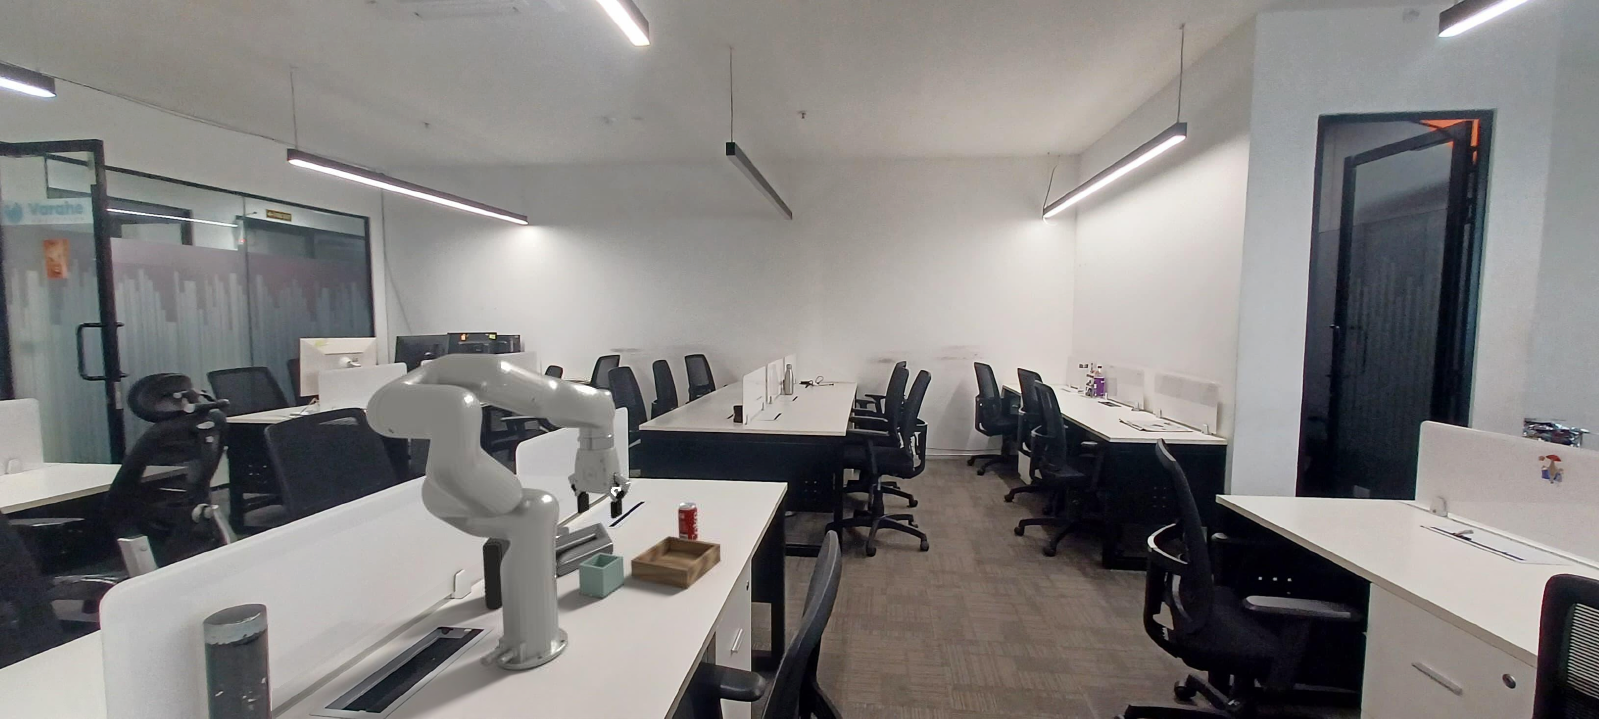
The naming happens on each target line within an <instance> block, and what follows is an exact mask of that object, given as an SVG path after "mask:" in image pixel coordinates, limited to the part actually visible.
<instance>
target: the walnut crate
mask: <svg viewBox="0 0 1599 719" xmlns="http://www.w3.org/2000/svg"><path fill="white" fill-rule="evenodd" d="M720 562H721V543H715V542H709V541H704V540H703V541H701V540H698V541H696V540H690V539H683V538H679V537H676V536H670V535H669V536H667V537H665V538H664V539H662V540H661V541H659V542H657V543H656V544H654V545H652V546H651V547H650V548H649V549H646V550H645V551H644V552H642V553H640V554H639V555H637V556H636V557H634V558H633V559H631V560H630V565H631V566H630V567H631V568H630V569H631V579H635V580H638V581H639V580H641V581H646V582H651V583H656V584H660V583H661V585H665V584H666V585H667V586H670V585H671V587H675V586H676V588H682V589H687V590H688V589H689V588H690V587H691V586H692V585H694V584H695V583H696V582H697V581H699V580H700V579H701V578H703V576H704V575H706V574H707V573H708V572H709V571H710V570H712V569H713V568H714V567H715V566H716V565H718V564H719V563H720Z"/></svg>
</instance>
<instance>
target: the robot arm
mask: <svg viewBox="0 0 1599 719" xmlns="http://www.w3.org/2000/svg"><path fill="white" fill-rule="evenodd" d="M481 403H483V404H487V405H490V406H493V407H496V408H499V409H503V410H507V411H510V412H513V413H516V414H519V415H522V416H526V417H533V418H539V419H546V420H547V421H548V422H549V423H550V424H551V425H552V426H555V427H557V428H563V429H578V431H579V432H578V434H579V436H577V442H579V448H578V447H577V449H576V450H577V451H576V455H575V460H574V473H572V474H571V475H569V476H567V480H568V482H569V484H570V488H571V490H572V491H573V492H574V495H573V496H575V497H576V502H577V505H576V506H577V513H578V514H580V515H581V514H582V513H585V512H587V511H589V510H590V494H589V493H591V494H599V495H608V496H609V497H610V499H611V501H610V503H609V504H610V505H609V506H610V518H611V519H613V520H614V519H616V518H618V517H620V516H621V515H622V514H623V499H624V498H625V496H626V495H628V492H629V489H630V487H631V482H630V481H629V480H628V479H627V478H625V477H624V476H622V475H621V469H620V468H621V467H620V466H621V465H620V460H619V455H618V451H617V448H616V447H615V434H614V433H615V432H614V419H615V417H616V406H615V405H616V404H615V402H614V400H613V394H612V392H611V391H610V390H608V389H602V388H598V389H597V388H595V387H592V386H589V385H586V384H583V383H579V382H574V381H569V380H567V379H562V378H560V377H555V376H551V375H547V374H543V373H540V372H539V371H536V370H533V369H531V368H529V367H527V366H524V365H522V364H520V363H518V362H515V361H514V360H511V359H509V358H507V357H505V356H504V357H503V356H502V355H498V354H493V353H451V354H445V355H442V356H440V357H437V358H435V359H432V360H430V361H428V362H426V363H424V364H423V365H420V366H418V367H416V368H415V369H413V370H411V371H408V372H406V373H405V374H403V375H401V376H399V377H397V378H395V379H394V380H391V381H390V382H387V383H385V384H384V385H382V386H381V387H380V388H378V389H377V390H376V391H374V393H373V394H372V395H371V397H370V399H369V400H368V402H367V406H366V409H365V416H366V417H365V418H366V422H367V424H368V425H369V427H370V428H371V429H372V430H373V431H374V432H375V433H378V434H379V435H381V436H384V437H387V438H395V439H396V438H397V439H418V440H429V441H430V442H429V449H428V455H427V461H426V466H425V478H424V481H423V483H422V486H421V500H422V503H423V506H424V507H425V508H426V510H427V511H428V512H429V513H430V514H431V515H433V517H435V518H437V519H439V520H440V521H442V522H445V524H447V525H450V526H451V527H452V528H455V529H457V530H459V531H461V532H463V533H465V534H467V535H469V536H472V537H477V538H484V539H489V538H495V539H503V540H509V541H510V547H509V549H508V551H507V552H506V554H505V555H504V557H503V559H502V562H501V567H500V575H501V592H502V606H501V608H502V609H501V610H502V629H503V635H502V636H500V637H498V645H497V646H495V648H494V650H492V651H490V652H488V653H487V654H485V655H484V656H482V657H481V658H480V665H481V666H482V667H483V668H485V669H486V668H488V667H489V666H491V665H493V664H495V663H496V664H497V665H498V666H499V667H501V668H503V669H506V670H525V669H530V668H534V667H537V666H542V665H543V664H545V663H548V662H550V661H552V660H553V659H555V658H556V657H558V656H559V655H560V654H561V653H562V652H564V650H565V649H566V648H567V646H568V643H569V642H568V641H569V636H568V633H567V630H566V631H565V630H564V629H563V628H560V626H559V608H558V607H559V605H558V583H557V574H556V564H557V563H556V551H555V548H556V533H557V528H558V524H559V519H560V505H559V504H560V503H559V501H558V499H557V498H556V496H554V495H553V494H552V493H550V492H549V491H547V490H543V489H538V488H531V487H530V488H528V487H523V485H522V483H521V481H520V479H519V478H518V477H517V475H515V473H514V472H513V471H511V470H510V469H509V468H507V467H506V466H505V465H503V464H502V463H500V462H499V461H498V460H496V459H495V458H494V457H492V456H491V455H490V454H489V453H487V451H486V450H484V449H483V448H482V445H481V430H482V423H483V422H482V421H483V409H482V404H481Z"/></svg>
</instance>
